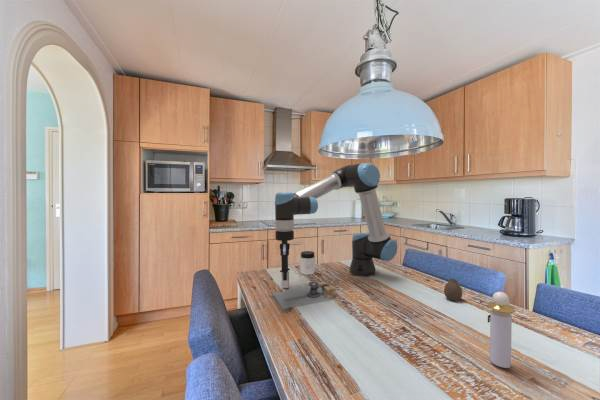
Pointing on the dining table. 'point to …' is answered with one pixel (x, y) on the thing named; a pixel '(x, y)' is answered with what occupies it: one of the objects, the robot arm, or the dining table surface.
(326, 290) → the block
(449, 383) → the dining table surface
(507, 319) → the perfume bottle
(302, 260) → the jar
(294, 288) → the lever
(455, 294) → the brown egg shape
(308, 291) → the base
